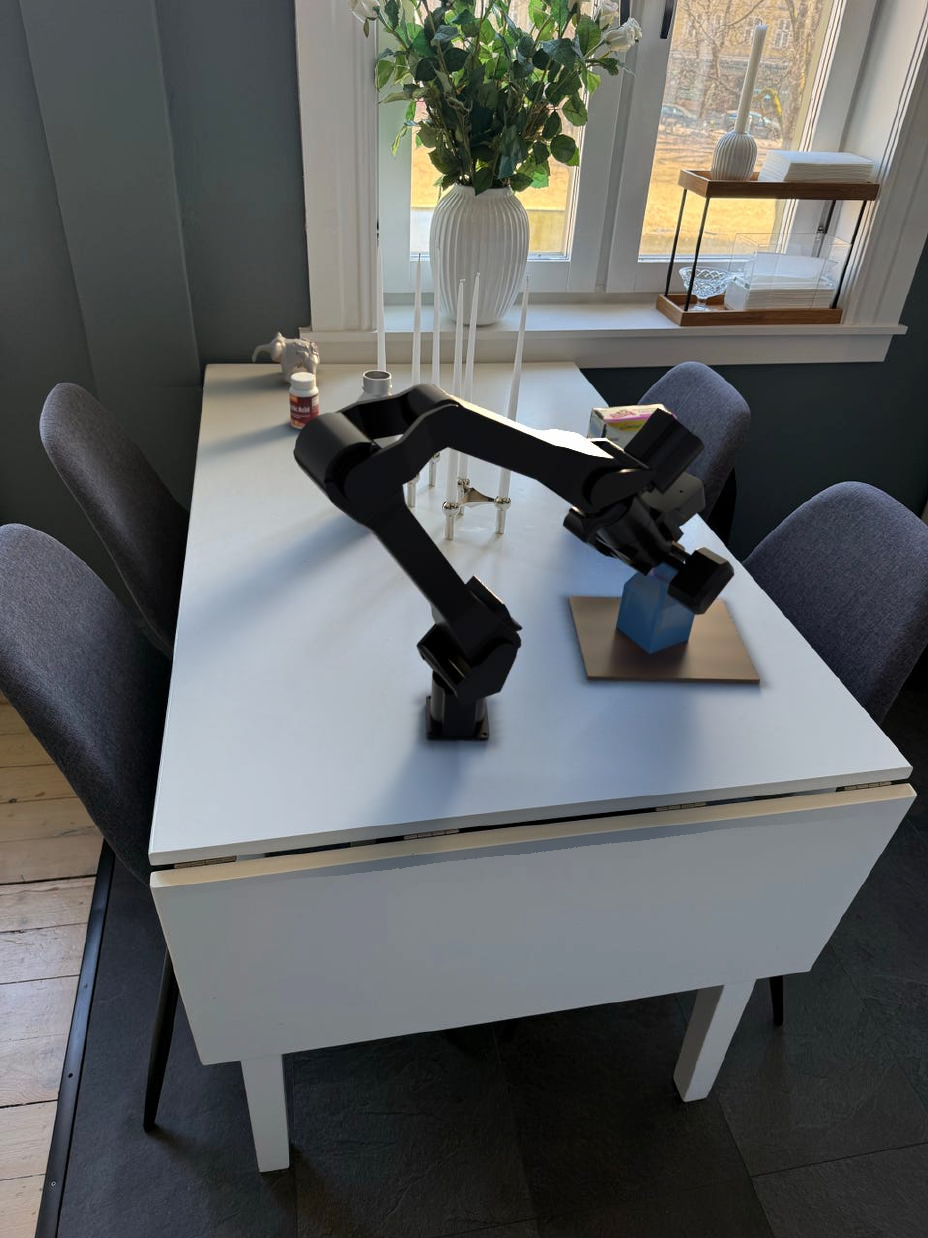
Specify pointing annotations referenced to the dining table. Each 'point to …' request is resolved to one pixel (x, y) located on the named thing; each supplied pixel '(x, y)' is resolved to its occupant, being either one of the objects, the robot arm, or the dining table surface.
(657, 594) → the perfume bottle
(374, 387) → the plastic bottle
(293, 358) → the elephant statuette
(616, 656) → the walnut board
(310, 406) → the pill bottle
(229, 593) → the dining table surface
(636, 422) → the candy bar box
